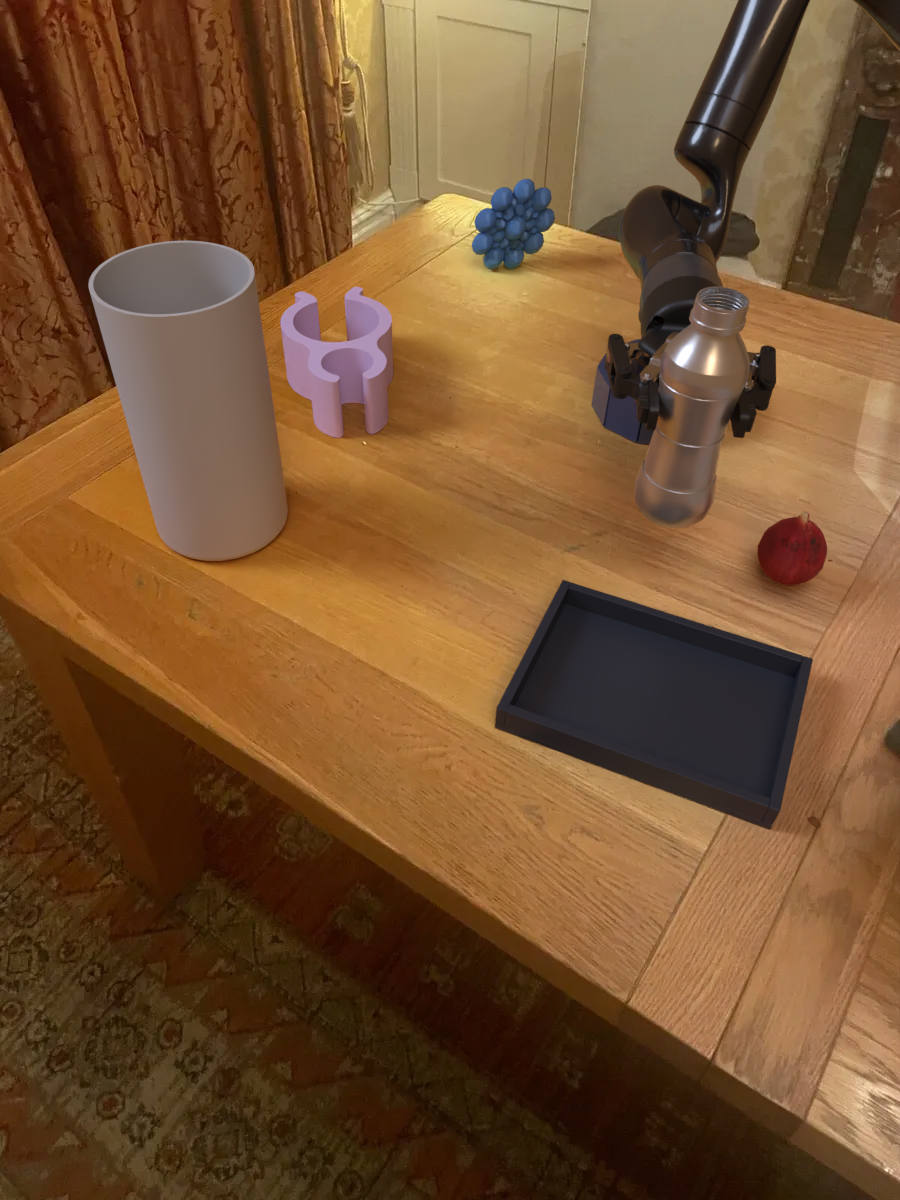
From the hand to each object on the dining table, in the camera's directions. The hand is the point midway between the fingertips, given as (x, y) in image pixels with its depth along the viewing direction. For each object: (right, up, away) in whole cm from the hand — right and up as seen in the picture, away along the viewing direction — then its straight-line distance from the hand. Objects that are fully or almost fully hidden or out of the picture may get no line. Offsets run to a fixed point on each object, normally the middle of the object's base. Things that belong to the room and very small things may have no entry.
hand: (697, 424), depth 69 cm
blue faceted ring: (+4, +8, +34) cm, 35 cm away
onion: (+12, -12, +15) cm, 23 cm away
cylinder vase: (-41, -6, +19) cm, 46 cm away
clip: (-31, +11, +36) cm, 49 cm away
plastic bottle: (0, -6, +10) cm, 11 cm away
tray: (-2, -22, +5) cm, 22 cm away
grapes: (-11, +34, +59) cm, 68 cm away
